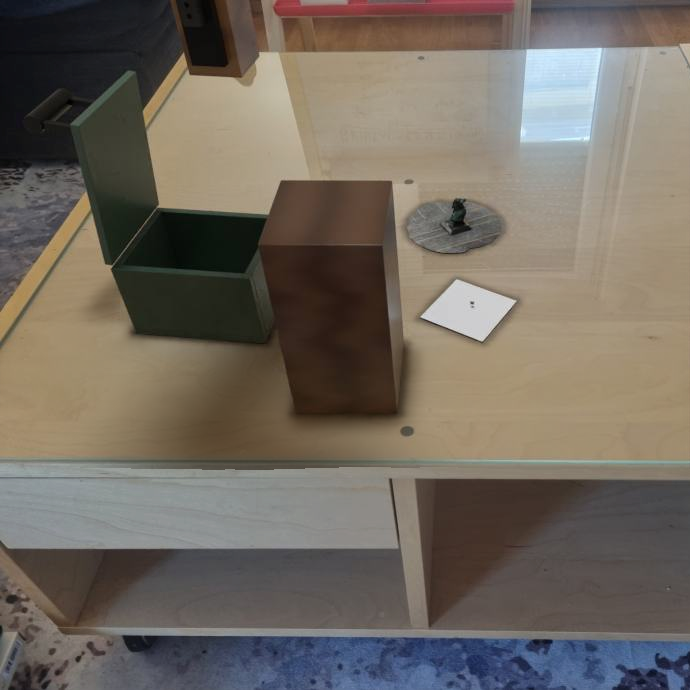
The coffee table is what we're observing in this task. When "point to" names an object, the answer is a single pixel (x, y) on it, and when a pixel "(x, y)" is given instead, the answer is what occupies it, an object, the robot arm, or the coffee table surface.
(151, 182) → the box lid
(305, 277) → the plinth
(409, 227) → the sculpture
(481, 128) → the coffee table surface
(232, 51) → the block
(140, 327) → the green box
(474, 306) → the coaster
